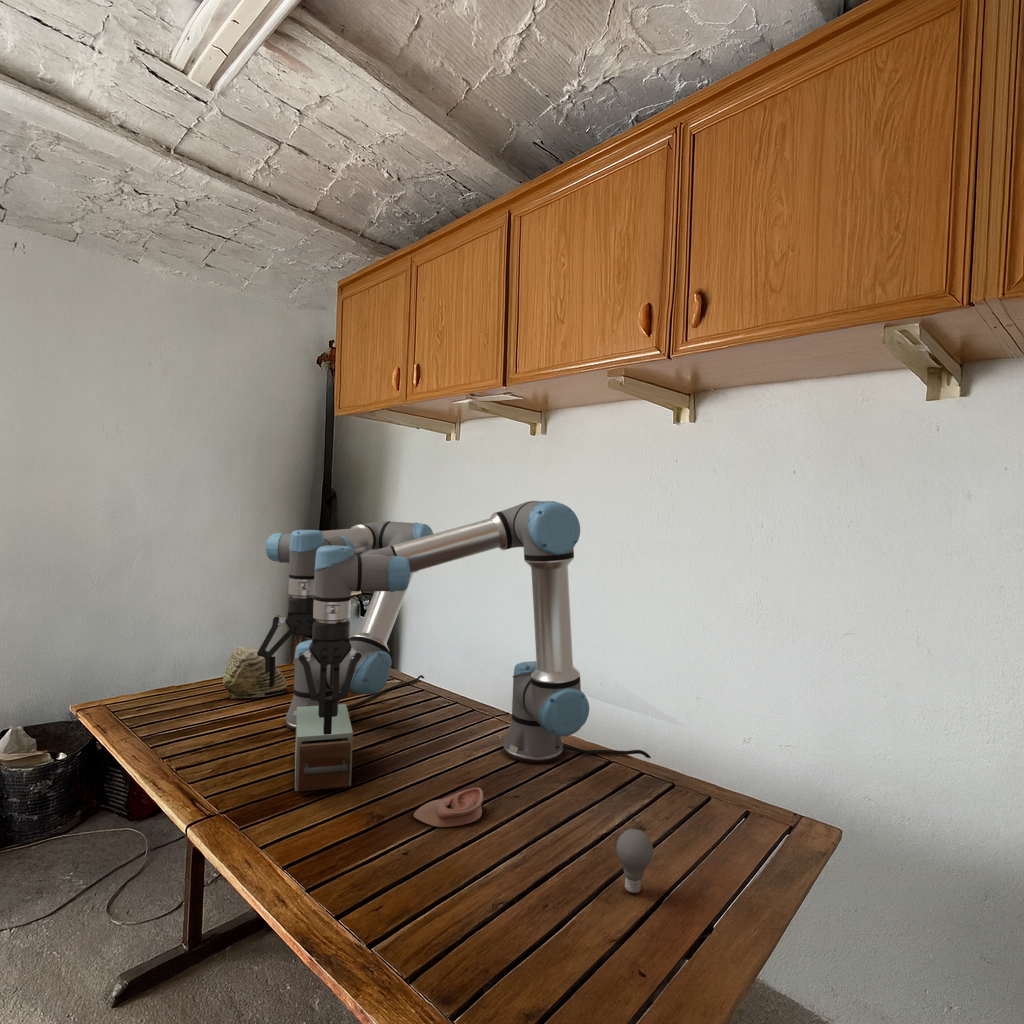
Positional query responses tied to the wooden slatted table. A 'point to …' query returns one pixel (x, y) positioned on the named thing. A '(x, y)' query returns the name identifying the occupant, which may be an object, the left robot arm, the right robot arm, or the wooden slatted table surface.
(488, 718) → the wooden slatted table surface
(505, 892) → the wooden slatted table surface
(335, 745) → the drawer
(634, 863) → the light bulb
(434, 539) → the right robot arm
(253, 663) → the fossil
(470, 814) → the anatomical model
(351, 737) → the cabinet
